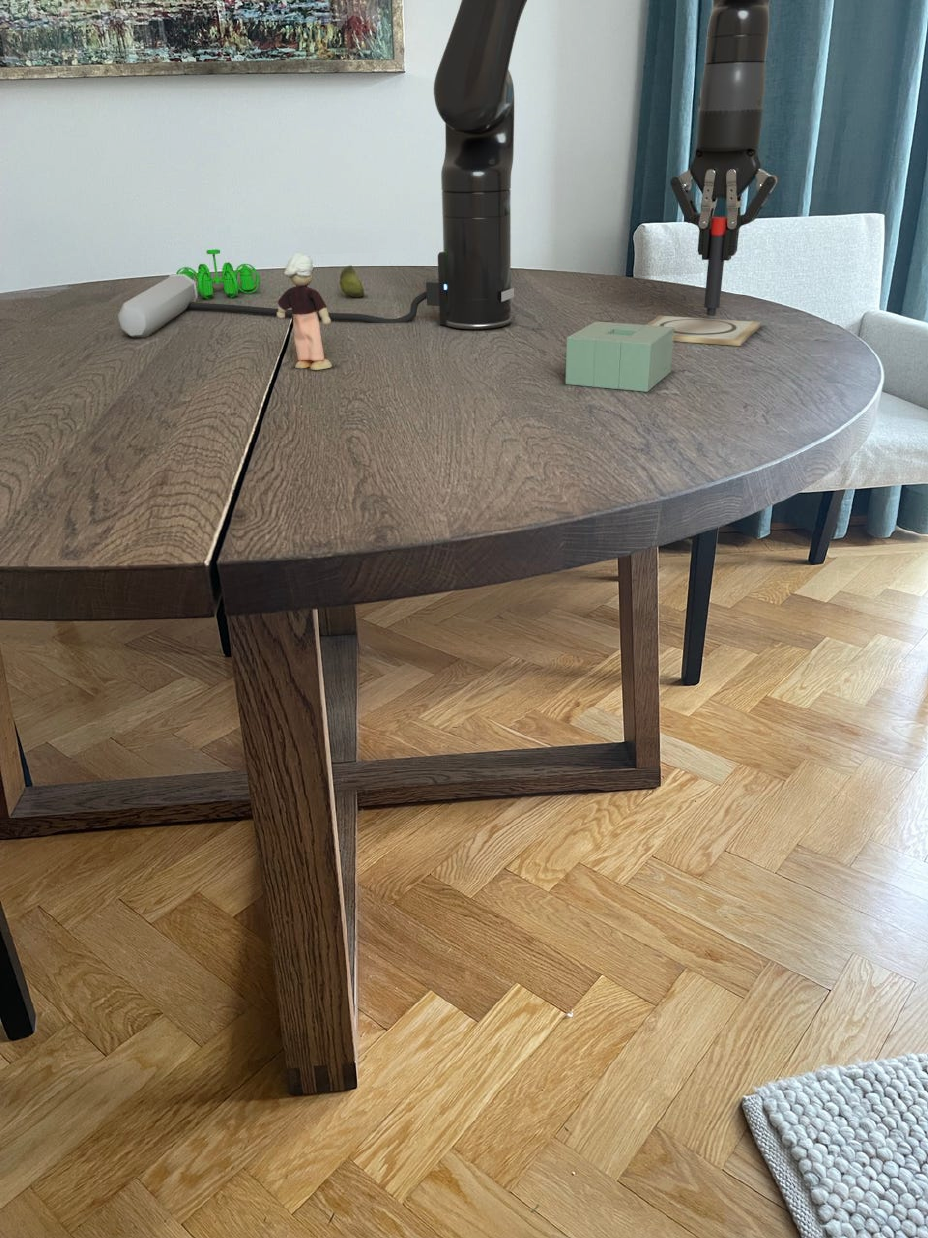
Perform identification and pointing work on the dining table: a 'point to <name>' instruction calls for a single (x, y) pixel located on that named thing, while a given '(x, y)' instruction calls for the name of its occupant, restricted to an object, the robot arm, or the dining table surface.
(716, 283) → the marker
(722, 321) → the square wooden coaster
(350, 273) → the lime
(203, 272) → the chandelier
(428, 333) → the dining table surface
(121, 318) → the tube
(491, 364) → the dining table surface
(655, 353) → the pen stand
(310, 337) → the grandmother figurine
